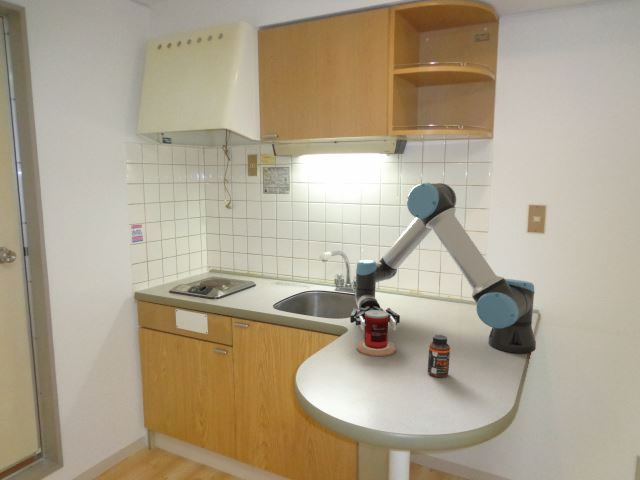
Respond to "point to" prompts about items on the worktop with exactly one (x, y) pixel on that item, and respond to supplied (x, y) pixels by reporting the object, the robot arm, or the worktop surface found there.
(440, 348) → the supplement bottle
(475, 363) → the worktop surface
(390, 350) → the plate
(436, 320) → the worktop surface
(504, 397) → the worktop surface
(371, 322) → the canned food
